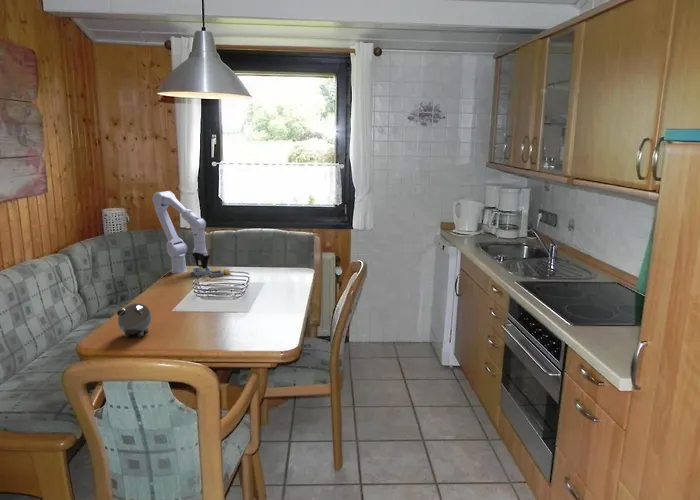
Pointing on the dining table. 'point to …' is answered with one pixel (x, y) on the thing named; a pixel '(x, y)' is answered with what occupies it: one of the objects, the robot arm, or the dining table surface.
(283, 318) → the dining table surface
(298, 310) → the dining table surface
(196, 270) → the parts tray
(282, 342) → the dining table surface
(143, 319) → the piggy bank
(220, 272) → the fuse block
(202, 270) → the fuse
